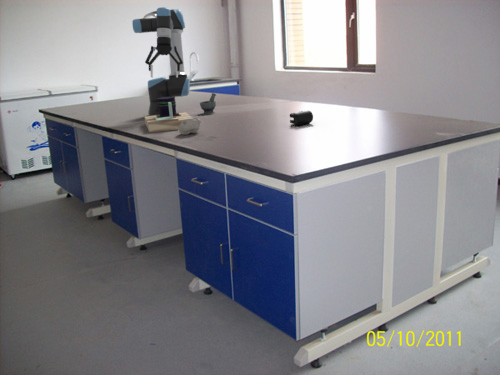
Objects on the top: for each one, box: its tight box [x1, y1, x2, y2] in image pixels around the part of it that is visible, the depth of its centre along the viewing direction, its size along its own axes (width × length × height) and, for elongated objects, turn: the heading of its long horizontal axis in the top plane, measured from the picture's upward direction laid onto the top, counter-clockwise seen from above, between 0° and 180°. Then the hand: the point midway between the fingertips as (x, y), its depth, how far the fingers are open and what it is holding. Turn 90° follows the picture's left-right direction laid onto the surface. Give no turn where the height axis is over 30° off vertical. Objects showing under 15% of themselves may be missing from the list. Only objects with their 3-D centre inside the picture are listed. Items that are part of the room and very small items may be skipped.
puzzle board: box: [144, 111, 193, 133], centre depth 284 cm, size 30×24×5 cm
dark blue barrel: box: [158, 96, 178, 118], centre depth 290 cm, size 10×10×15 cm
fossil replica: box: [177, 117, 202, 136], centre depth 256 cm, size 12×8×10 cm
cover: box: [155, 102, 173, 121], centre depth 274 cm, size 9×9×9 cm
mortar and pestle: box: [199, 92, 217, 115], centre depth 322 cm, size 11×9×12 cm
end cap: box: [289, 110, 314, 127], centre depth 258 cm, size 10×7×7 cm
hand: (164, 77), depth 278 cm, fingers open, 13 cm apart
